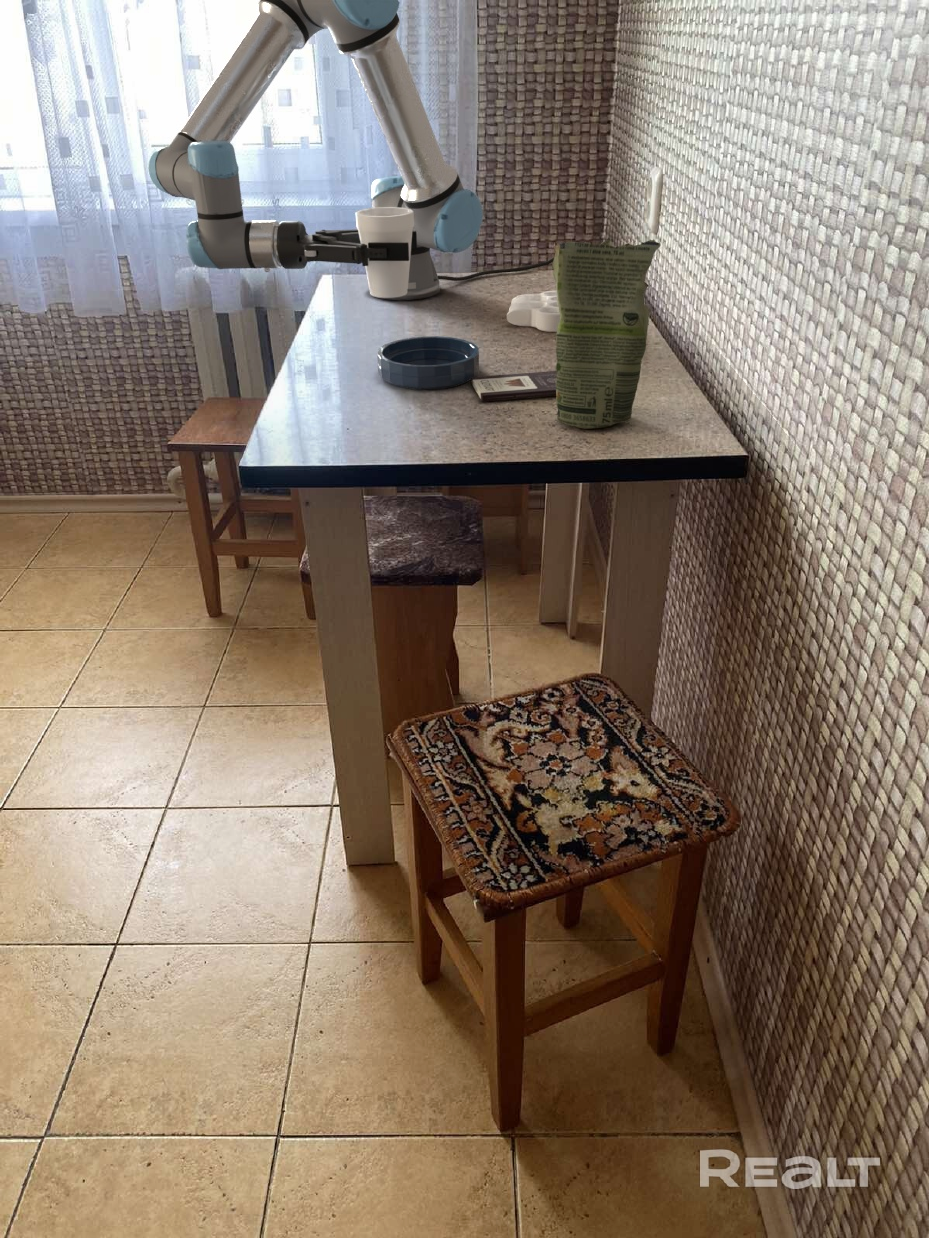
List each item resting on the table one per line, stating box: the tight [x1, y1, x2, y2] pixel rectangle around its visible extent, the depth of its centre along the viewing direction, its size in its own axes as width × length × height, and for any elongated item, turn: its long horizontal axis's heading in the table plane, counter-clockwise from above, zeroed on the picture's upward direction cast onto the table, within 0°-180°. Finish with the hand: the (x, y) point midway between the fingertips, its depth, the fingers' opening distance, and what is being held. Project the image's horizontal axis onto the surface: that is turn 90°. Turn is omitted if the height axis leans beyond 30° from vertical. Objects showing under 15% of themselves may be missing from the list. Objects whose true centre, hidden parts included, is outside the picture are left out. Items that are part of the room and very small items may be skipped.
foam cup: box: [355, 207, 414, 299], centre depth 158 cm, size 10×9×13 cm
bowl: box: [376, 335, 480, 390], centre depth 155 cm, size 17×17×4 cm
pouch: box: [551, 237, 661, 430], centre depth 131 cm, size 11×12×25 cm
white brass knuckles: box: [506, 289, 560, 333], centre depth 183 cm, size 3×18×15 cm
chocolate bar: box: [470, 370, 557, 403], centre depth 149 cm, size 9×1×18 cm
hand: (412, 245), depth 157 cm, fingers closed on foam cup, 9 cm apart
